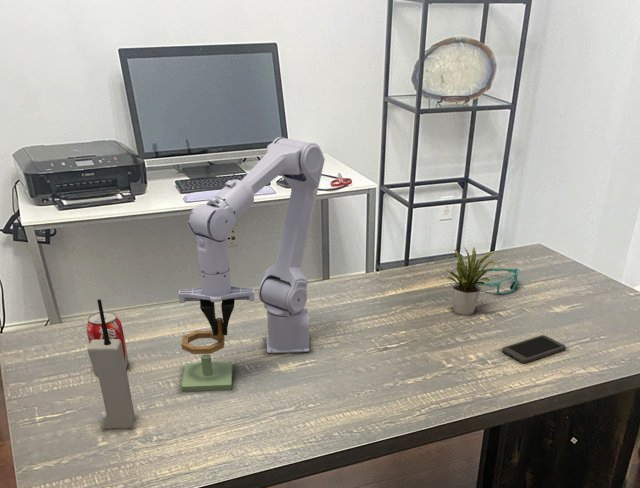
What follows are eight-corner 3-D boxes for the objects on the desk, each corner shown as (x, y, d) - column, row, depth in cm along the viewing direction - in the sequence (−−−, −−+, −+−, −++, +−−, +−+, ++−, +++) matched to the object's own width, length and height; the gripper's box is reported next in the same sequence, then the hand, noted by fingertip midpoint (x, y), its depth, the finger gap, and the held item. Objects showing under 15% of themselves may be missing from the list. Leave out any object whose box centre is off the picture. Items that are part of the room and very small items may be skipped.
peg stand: (232, 366, 147) (231, 344, 144) (231, 389, 139) (229, 367, 136) (185, 368, 146) (183, 346, 143) (181, 391, 138) (178, 369, 135)
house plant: (505, 308, 176) (515, 247, 167) (484, 327, 166) (493, 262, 157) (455, 296, 182) (462, 236, 173) (432, 313, 173) (438, 250, 164)
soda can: (136, 364, 147) (127, 312, 140) (116, 379, 141) (106, 326, 135) (108, 358, 149) (98, 307, 142) (88, 373, 143) (76, 321, 137)
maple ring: (225, 335, 143) (223, 310, 140) (224, 353, 136) (221, 327, 133) (184, 336, 142) (181, 311, 139) (180, 354, 135) (177, 329, 132)
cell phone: (500, 350, 156) (500, 347, 155) (543, 337, 162) (543, 334, 162) (523, 363, 150) (524, 360, 150) (566, 349, 157) (567, 346, 156)
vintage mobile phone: (108, 418, 129) (82, 295, 115) (135, 418, 129) (113, 294, 115) (104, 429, 126) (77, 303, 112) (131, 429, 126) (108, 303, 112)
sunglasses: (507, 298, 181) (508, 280, 179) (456, 291, 189) (456, 274, 186) (526, 282, 191) (527, 265, 189) (477, 276, 199) (477, 259, 196)
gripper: (173, 277, 126) (182, 343, 134) (252, 276, 128) (256, 341, 135) (177, 264, 132) (185, 328, 140) (252, 262, 134) (256, 326, 141)
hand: (220, 333), depth 138 cm, fingers closed on maple ring
